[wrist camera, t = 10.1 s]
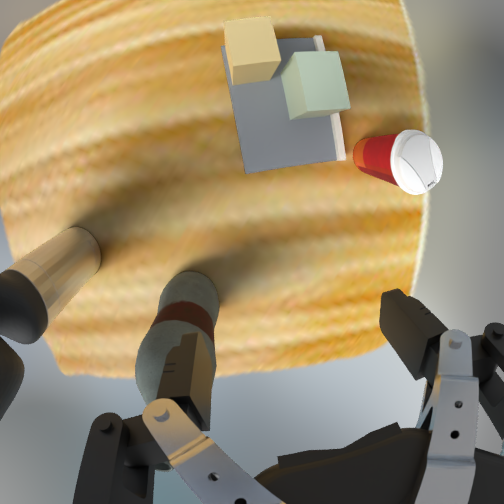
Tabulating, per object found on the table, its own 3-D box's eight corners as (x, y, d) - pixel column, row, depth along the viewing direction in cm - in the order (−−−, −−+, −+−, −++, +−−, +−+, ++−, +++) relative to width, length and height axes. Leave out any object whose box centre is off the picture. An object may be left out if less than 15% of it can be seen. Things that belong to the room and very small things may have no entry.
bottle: (156, 275, 42) (83, 436, 14) (209, 260, 42) (183, 438, 14) (177, 321, 46) (142, 482, 18) (227, 310, 46) (229, 482, 18)
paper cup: (395, 164, 38) (453, 176, 25) (361, 189, 40) (413, 209, 27) (373, 122, 36) (429, 117, 23) (336, 146, 37) (384, 147, 24)
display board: (245, 172, 38) (246, 174, 35) (221, 50, 31) (220, 43, 28) (338, 158, 38) (346, 159, 35) (315, 42, 31) (321, 35, 28)
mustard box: (232, 85, 31) (233, 66, 23) (225, 48, 29) (223, 21, 21) (271, 80, 31) (283, 60, 23) (263, 43, 29) (272, 16, 21)
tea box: (289, 119, 34) (307, 111, 25) (280, 73, 31) (294, 52, 23) (325, 116, 34) (352, 108, 25) (316, 70, 31) (339, 51, 23)
